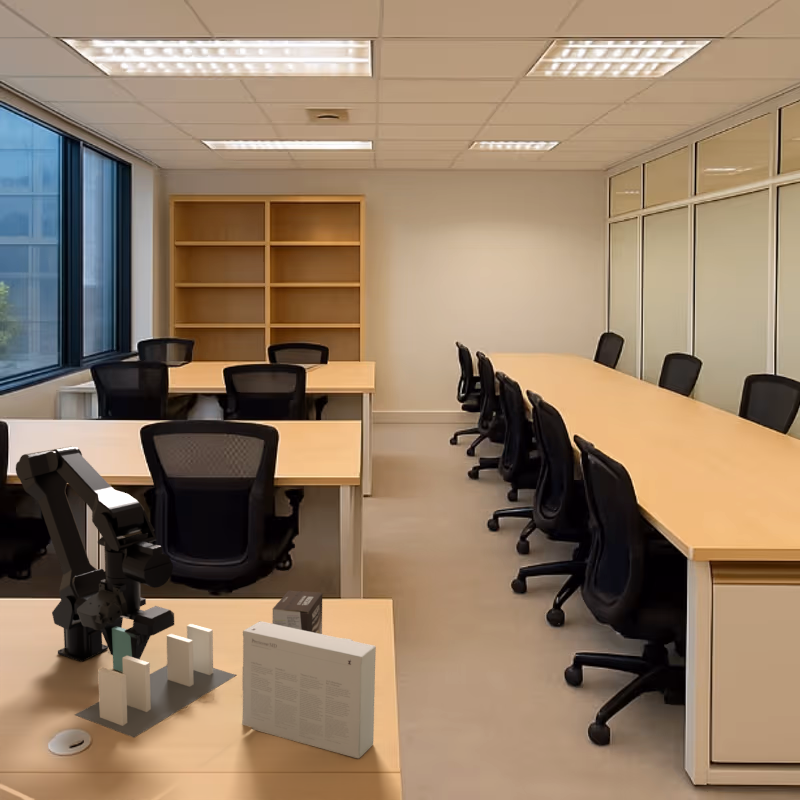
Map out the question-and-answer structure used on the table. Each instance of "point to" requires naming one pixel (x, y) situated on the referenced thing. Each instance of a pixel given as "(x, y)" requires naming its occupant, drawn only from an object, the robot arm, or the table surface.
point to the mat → (160, 700)
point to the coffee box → (299, 611)
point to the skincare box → (309, 687)
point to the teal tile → (120, 647)
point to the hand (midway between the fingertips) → (125, 658)
